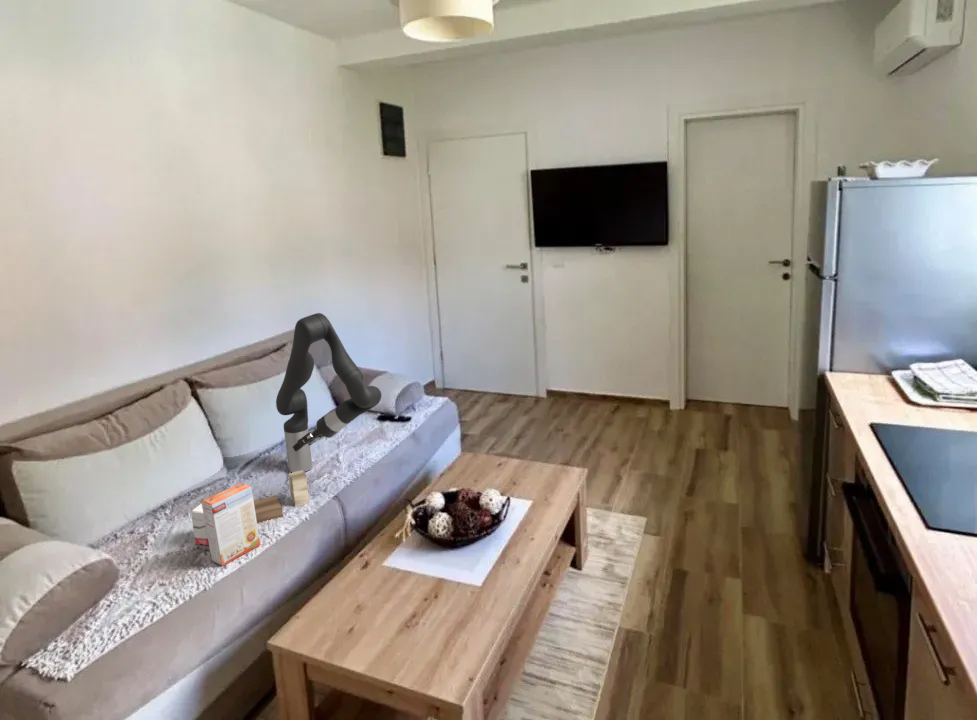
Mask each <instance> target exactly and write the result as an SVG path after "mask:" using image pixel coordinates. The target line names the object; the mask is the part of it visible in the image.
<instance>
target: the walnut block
mask: <svg viewBox="0 0 977 720" xmlns="http://www.w3.org/2000/svg"><path fill="white" fill-rule="evenodd" d="M254 507H255V513H256V520H257V524H260V523H259V522H261V523H264V522H263V521H265V522H268V521H271V519H272V520H275V519H274V518H276V519H279V518H282V517H284V514H283V513H284V512H283V507H282V505H281V503H280V501H279V499H278V497H277V496H276V495H273V496H269V497H263V498H261V499H256V500H254ZM278 517H279V518H278ZM267 520H268V521H267Z"/></svg>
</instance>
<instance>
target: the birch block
mask: <svg viewBox="0 0 977 720" xmlns="http://www.w3.org/2000/svg"><path fill="white" fill-rule="evenodd" d="M288 482H289V489H290V498H291V502H292V503H294V504H293V505H294V507H299V506H302V505H306V504H309V503H310V495H309V488H308V480H307V474H306V472H304V471H303V470H300V471H296V472H292V473H291V472H289V473H288Z"/></svg>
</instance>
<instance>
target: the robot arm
mask: <svg viewBox="0 0 977 720" xmlns="http://www.w3.org/2000/svg"><path fill="white" fill-rule="evenodd" d="M321 340H325V342H326V343H327V344H328V346H329V348H330V354H331V364H332V367H333V370H334V372H335V374H336V375H337V376H338V378H339V379H340V380H341V381H342V383H343V384H344V386H345V387H346V390H347V392H348V395H349V397H350V398H349V399H345V401H343V402H342V403H340V404H339V405H337V406H335V408H332V409H331V410H329V411H328V412H327V413H325V414H324V415H322V416H321V417H320V418H319V419H318V420H317V421H316V424H315V425H316V428H313V429H311V430H310V431H309V415H308V414H309V412H308V399H307V395H306V392H305V391H304V390H303V389H302V387H304V386H305V385H306V384H307V383H308V381H309V380H310V378H311V376H312V375H313V372H314V368H315V360H314V358H313V356H312V355H311V353H310V351H309V350H310V347H311V345H312V344H314V343H316V342H319V341H321ZM363 379H364V374H363V372H362V370H360V369H359V367H358V366H357V364H356V363H355V362H354V360H352V358H351V356H350V355H349V354H348V352H347V350H346V348H345V347H344V345H343V343H342V341H341V340H340V337H339V336H338V334H337V332H336V330H335V329H334V327H333V325H332V323H331V322H330V320H329V318H328V317H327V316H326V315H325V314H323V313H320V312H317V313H314V314H310V315H308V316H307V315H306V316H305V317H302V318H299V319H298V320H297V322H296V323H295V327H294V332H293V341H292V347H291V351H290V356H289V359H288V362H287V365H286V370H285V374H284V377H283V381H282V384H281V386H280V388H279V390H278V392H277V395H276V398H275V399H276V400H275V406H276V410H277V412H278V413H279V414H280V415H282V416H289V415H292V416H291V417H290V418H288V419H287V420H286V421H284V423H283V434H284V442H285V449H286V456H287V459H286V460H287V465H288V471H289V473H291V472H296V471H300V470H303V471H304V473H306V472H305V471H307V472H309V471H310V469H311V468H313V461H312V460H313V459H312V452H311V451H312V449H311V445H313V444H315V442H318V441H320V440H322V439H323V438H329V439H330V438H332V437H334V436H335V435H337V434H338V433H340V431H342V430H343V429H344V428H346V426H348V425H349V424H350V423H351V422H353V421H354V420H356V419H357V418H358V417H359V416H361V415H362V414H364V413H367V412H368V411H369V410H371V409H373V408H374V407H376V406H377V405H378V404H379V403H380V402H381V400H382V392H381V390H380V388H379V387H377V386H375V385H369V386H366V385H365V384H364V382H363ZM308 470H309V471H308ZM311 470H312V469H311Z"/></svg>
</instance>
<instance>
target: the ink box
mask: <svg viewBox="0 0 977 720" xmlns="http://www.w3.org/2000/svg"><path fill="white" fill-rule="evenodd" d="M190 512H191V513H190V514H191V521H192V528H193V536H194V544H195V545H200V544H203V546H209V541H208V536H207V530H206V525H205V519H204V514H203V508H202V503H200V504H199V505H197V506H196V507H194V508H193V509H192V510H191V511H190Z"/></svg>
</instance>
